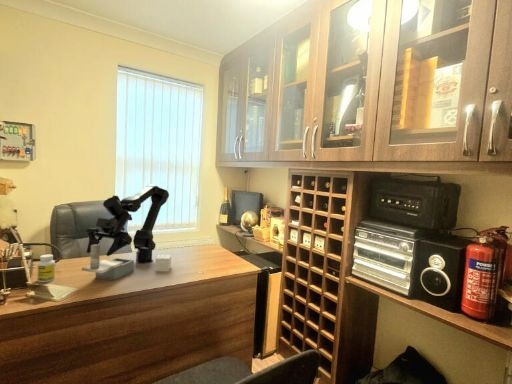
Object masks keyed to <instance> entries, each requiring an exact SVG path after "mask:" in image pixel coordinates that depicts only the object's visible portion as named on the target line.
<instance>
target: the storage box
mask: <svg viewBox="0 0 512 384" xmlns="http://www.w3.org/2000/svg"><path fill="white" fill-rule="evenodd" d="M111 260H114V261H121V262H123V264H122V265H120V266H118V267H115V268H113V269H111V270H109V271H106V272H104V273H95V278H97V279H102V280H107V281H117V280H119V279H120V278H123V277H124V276H126V275H129V274H130V273H132V272H134V269H135V268H134V267H135V260H134V259H126V258H120V257H115V258H112V259H111Z"/></svg>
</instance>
